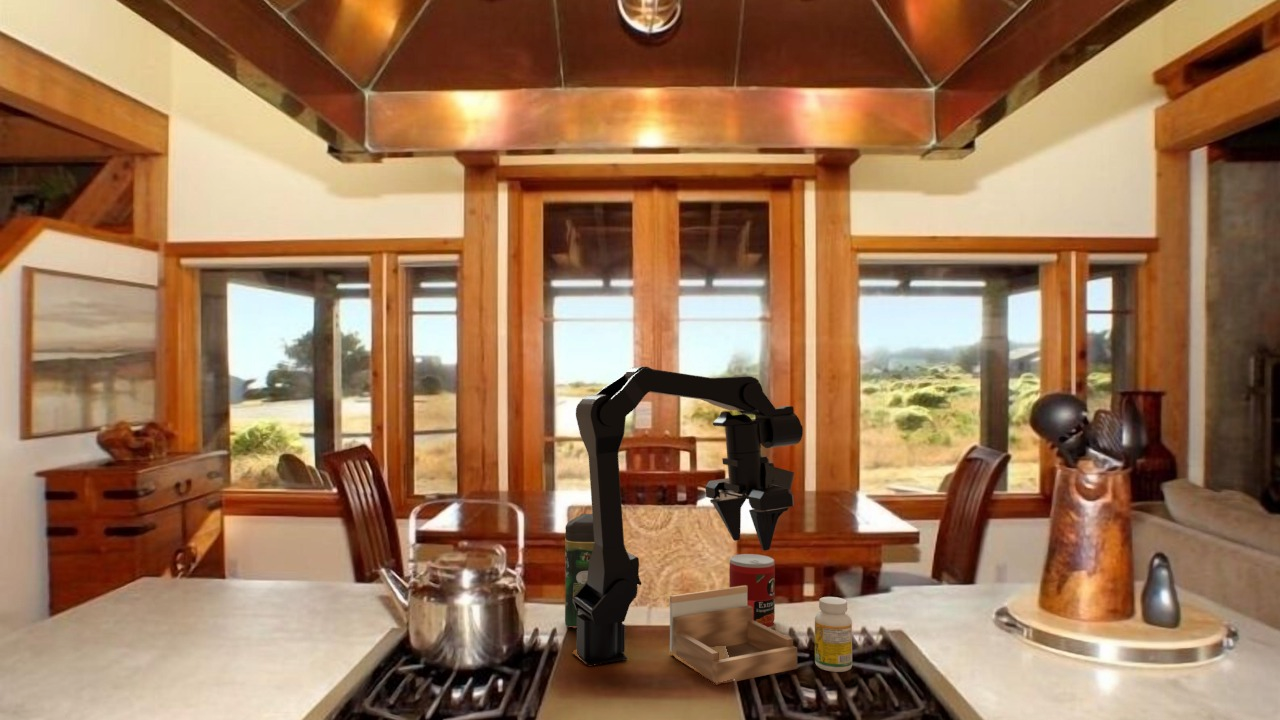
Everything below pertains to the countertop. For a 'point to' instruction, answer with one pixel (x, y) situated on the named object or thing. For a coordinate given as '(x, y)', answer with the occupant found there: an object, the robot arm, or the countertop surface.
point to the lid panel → (706, 603)
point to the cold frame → (732, 645)
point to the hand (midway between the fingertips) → (750, 545)
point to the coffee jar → (577, 561)
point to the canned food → (756, 584)
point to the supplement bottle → (833, 635)
